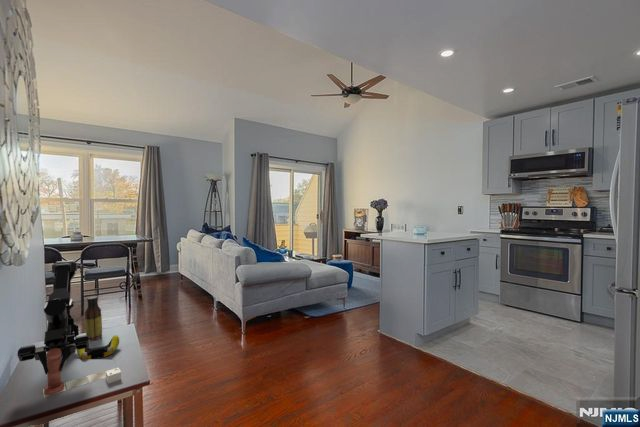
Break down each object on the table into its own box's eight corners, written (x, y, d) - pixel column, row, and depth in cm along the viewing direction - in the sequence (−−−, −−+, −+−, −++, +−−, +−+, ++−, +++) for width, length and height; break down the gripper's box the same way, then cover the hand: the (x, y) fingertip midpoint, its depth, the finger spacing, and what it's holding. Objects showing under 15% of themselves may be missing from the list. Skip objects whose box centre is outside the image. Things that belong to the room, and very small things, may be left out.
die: (107, 386, 108) (107, 375, 108) (105, 381, 111) (105, 371, 111) (121, 382, 111) (121, 371, 111) (118, 377, 114) (118, 367, 114)
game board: (41, 402, 99) (41, 399, 99) (39, 386, 107) (39, 382, 107) (110, 379, 112) (110, 376, 112) (104, 366, 121) (104, 363, 121)
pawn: (39, 394, 101) (39, 352, 100) (53, 385, 106) (53, 344, 106) (55, 395, 101) (54, 352, 100) (68, 385, 106) (67, 344, 106)
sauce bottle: (101, 333, 149) (101, 294, 148) (102, 338, 144) (103, 297, 143) (84, 337, 145) (84, 296, 144) (85, 342, 140) (85, 300, 139)
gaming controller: (77, 353, 130) (74, 364, 122) (77, 340, 130) (74, 351, 122) (119, 345, 138) (118, 355, 130) (119, 333, 138) (118, 342, 130)
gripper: (18, 324, 100) (10, 372, 92) (88, 313, 111) (87, 355, 103) (23, 338, 107) (16, 384, 99) (89, 326, 118) (88, 367, 110)
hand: (53, 372), depth 102 cm, fingers closed on pawn, 3 cm apart
